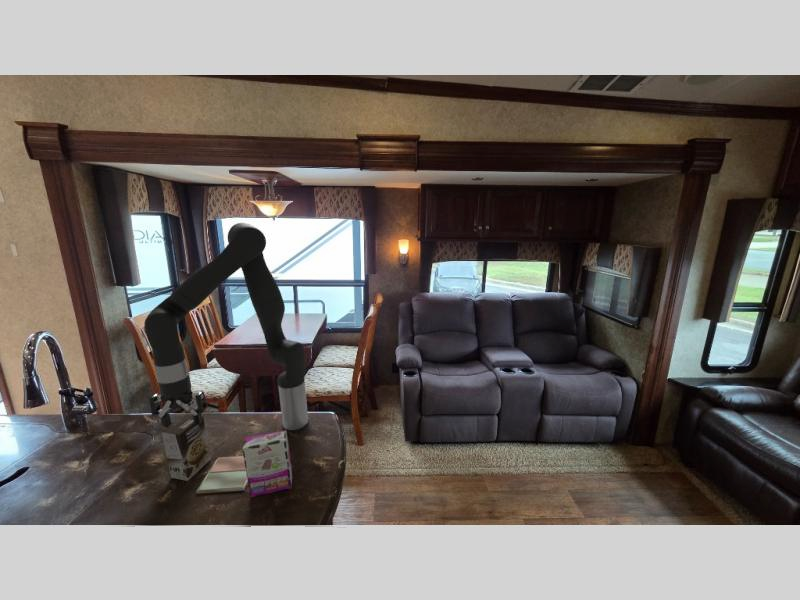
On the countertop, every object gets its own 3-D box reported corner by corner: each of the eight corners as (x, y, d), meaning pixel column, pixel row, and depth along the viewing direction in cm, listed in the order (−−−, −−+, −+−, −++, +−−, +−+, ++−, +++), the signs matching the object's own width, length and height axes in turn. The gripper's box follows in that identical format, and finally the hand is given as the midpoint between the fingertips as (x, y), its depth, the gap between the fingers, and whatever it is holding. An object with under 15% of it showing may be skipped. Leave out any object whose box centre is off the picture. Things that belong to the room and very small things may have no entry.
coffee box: (188, 481, 93) (178, 435, 89) (170, 478, 94) (159, 432, 90) (212, 459, 101) (204, 415, 97) (195, 456, 103) (186, 413, 98)
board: (218, 459, 101) (218, 457, 101) (259, 456, 102) (259, 454, 102) (196, 493, 88) (196, 490, 88) (244, 490, 90) (243, 487, 89)
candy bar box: (292, 475, 95) (287, 429, 90) (291, 488, 90) (286, 440, 86) (252, 484, 92) (245, 436, 87) (249, 498, 87) (241, 448, 83)
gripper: (206, 368, 94) (214, 416, 98) (155, 370, 92) (165, 418, 96) (192, 381, 86) (201, 431, 90) (137, 383, 85) (149, 434, 89)
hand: (183, 425), depth 93 cm, fingers open, 8 cm apart
